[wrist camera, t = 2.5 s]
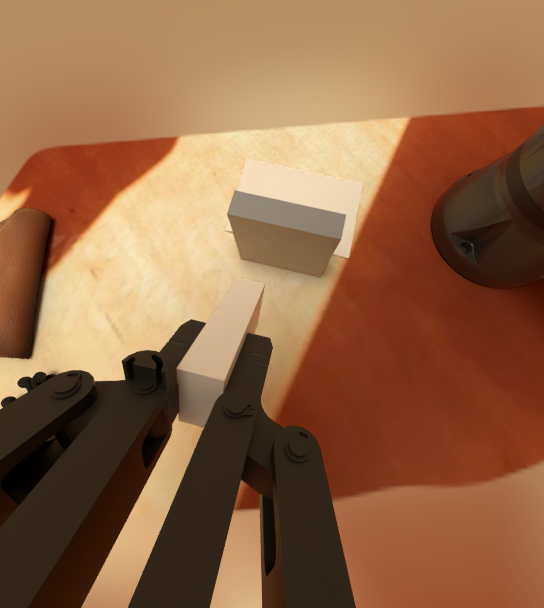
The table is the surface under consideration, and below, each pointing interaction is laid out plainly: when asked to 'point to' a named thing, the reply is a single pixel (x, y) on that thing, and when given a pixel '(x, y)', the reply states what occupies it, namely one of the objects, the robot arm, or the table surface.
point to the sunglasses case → (20, 277)
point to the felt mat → (305, 193)
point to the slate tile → (284, 233)
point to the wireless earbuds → (28, 385)
